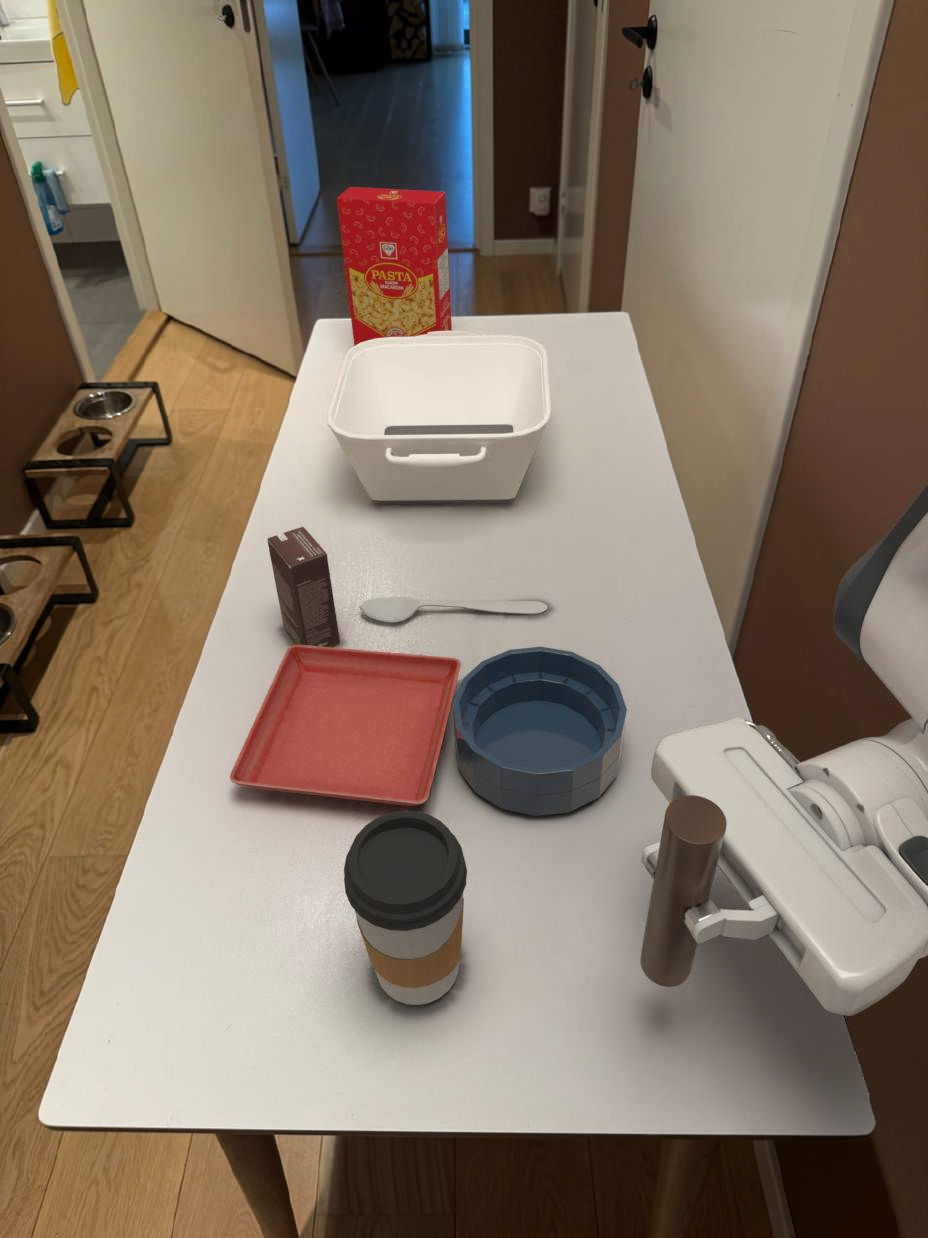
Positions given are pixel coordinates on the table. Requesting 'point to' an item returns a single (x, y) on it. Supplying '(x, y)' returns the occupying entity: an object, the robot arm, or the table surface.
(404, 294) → the food packaging
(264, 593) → the table surface
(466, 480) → the tub
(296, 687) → the plant saucer
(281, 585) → the box
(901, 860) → the robot arm
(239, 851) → the table surface
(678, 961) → the brown cylinder
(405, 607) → the spoon
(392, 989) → the coffee cup
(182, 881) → the table surface
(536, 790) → the bowl
